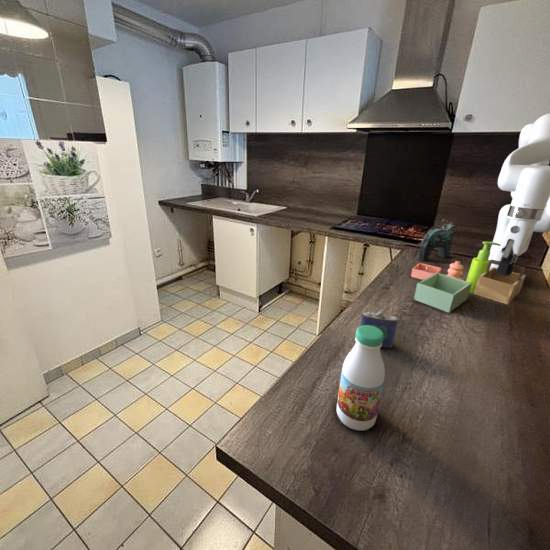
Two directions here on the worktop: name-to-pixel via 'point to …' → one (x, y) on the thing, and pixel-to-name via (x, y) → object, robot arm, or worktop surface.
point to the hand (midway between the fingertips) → (503, 273)
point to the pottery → (436, 270)
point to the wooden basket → (499, 283)
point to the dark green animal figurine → (437, 241)
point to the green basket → (442, 291)
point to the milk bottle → (362, 380)
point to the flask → (382, 325)
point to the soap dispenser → (479, 265)
